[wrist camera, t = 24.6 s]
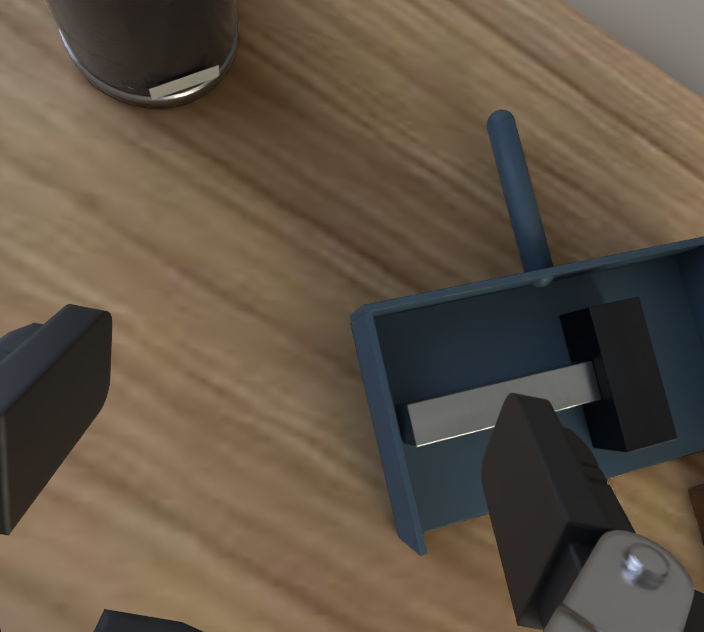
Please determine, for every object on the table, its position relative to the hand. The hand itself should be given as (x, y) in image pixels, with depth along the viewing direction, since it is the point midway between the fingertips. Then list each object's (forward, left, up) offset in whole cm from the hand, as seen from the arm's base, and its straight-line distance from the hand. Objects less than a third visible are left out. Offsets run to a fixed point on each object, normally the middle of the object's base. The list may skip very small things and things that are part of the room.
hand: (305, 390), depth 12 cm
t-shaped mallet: (+3, +14, -20) cm, 25 cm away
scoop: (-2, +16, -20) cm, 26 cm away
